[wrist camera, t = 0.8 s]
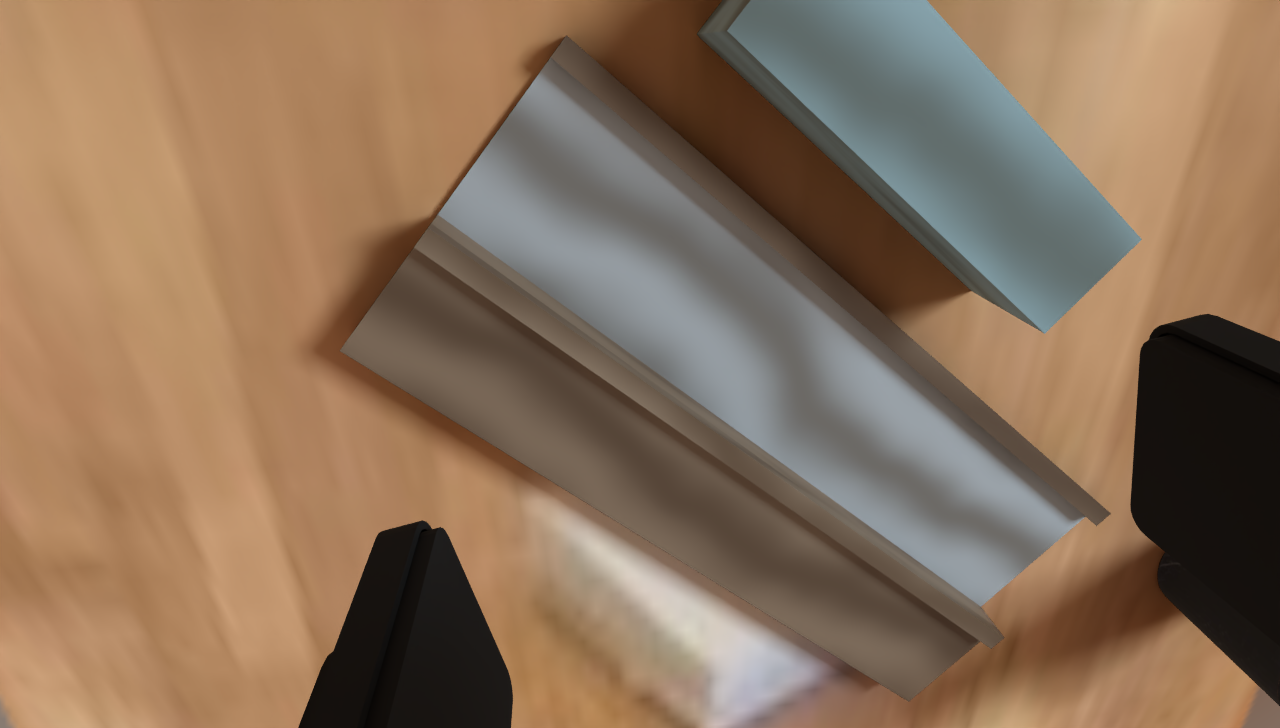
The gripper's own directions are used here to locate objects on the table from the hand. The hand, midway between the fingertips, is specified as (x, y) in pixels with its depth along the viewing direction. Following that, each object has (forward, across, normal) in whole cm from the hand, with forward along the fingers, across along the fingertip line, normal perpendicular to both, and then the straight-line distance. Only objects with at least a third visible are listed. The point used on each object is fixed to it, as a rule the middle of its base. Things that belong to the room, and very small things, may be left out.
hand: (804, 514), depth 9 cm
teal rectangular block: (+24, -11, 0) cm, 27 cm away
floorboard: (+24, -4, +13) cm, 28 cm away
